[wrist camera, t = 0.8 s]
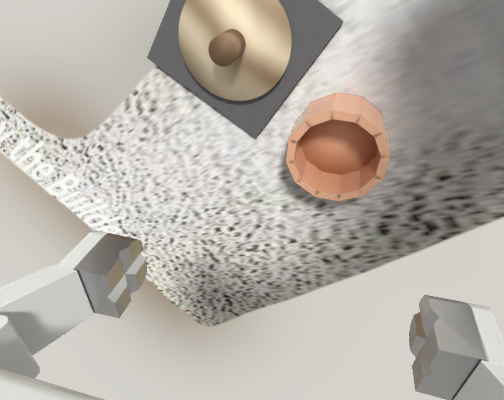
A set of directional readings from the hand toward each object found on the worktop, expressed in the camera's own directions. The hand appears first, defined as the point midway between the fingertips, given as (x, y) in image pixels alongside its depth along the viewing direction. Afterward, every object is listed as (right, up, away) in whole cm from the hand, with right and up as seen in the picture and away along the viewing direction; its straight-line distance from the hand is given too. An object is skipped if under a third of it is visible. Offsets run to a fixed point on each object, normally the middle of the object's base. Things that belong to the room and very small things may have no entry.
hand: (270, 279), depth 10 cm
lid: (-3, +22, +32) cm, 39 cm away
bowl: (+11, +11, +37) cm, 40 cm away
